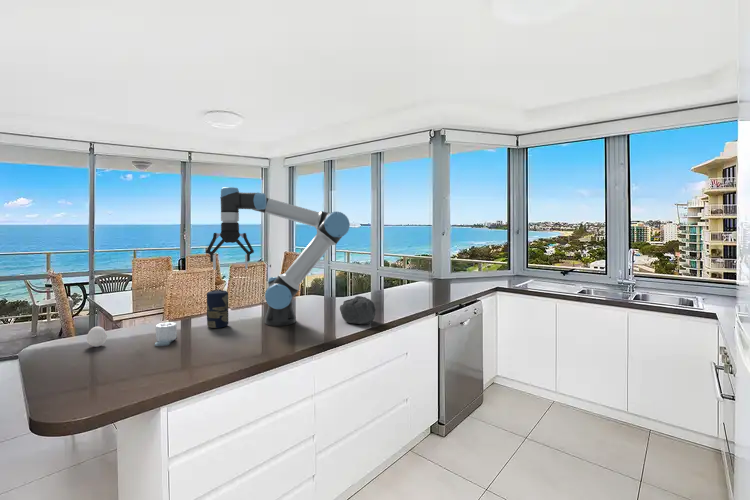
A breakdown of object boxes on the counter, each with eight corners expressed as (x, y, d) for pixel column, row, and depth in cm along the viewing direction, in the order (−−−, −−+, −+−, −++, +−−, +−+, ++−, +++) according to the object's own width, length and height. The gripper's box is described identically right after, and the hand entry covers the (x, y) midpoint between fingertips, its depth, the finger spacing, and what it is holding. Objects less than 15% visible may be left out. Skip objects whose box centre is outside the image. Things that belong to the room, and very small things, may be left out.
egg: (89, 344, 149) (89, 325, 149) (109, 343, 152) (108, 323, 151) (84, 349, 143) (84, 329, 143) (104, 347, 146) (104, 327, 145)
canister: (220, 330, 173) (220, 291, 172) (202, 328, 175) (202, 290, 174) (232, 324, 183) (232, 288, 182) (215, 323, 185) (214, 287, 183)
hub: (177, 335, 160) (177, 322, 159) (173, 340, 153) (173, 326, 152) (159, 336, 158) (159, 322, 158) (154, 341, 151) (154, 327, 151)
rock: (332, 298, 192) (353, 289, 202) (336, 323, 195) (356, 313, 206) (361, 306, 177) (382, 295, 188) (365, 333, 180) (385, 321, 191)
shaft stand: (176, 336, 162) (176, 320, 161) (168, 345, 150) (168, 328, 150) (163, 337, 161) (163, 321, 160) (154, 346, 149) (154, 328, 149)
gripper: (259, 222, 176) (259, 267, 177) (201, 221, 169) (202, 268, 171) (258, 222, 168) (259, 269, 170) (198, 221, 162) (199, 270, 163)
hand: (230, 269), depth 170 cm, fingers open, 13 cm apart
